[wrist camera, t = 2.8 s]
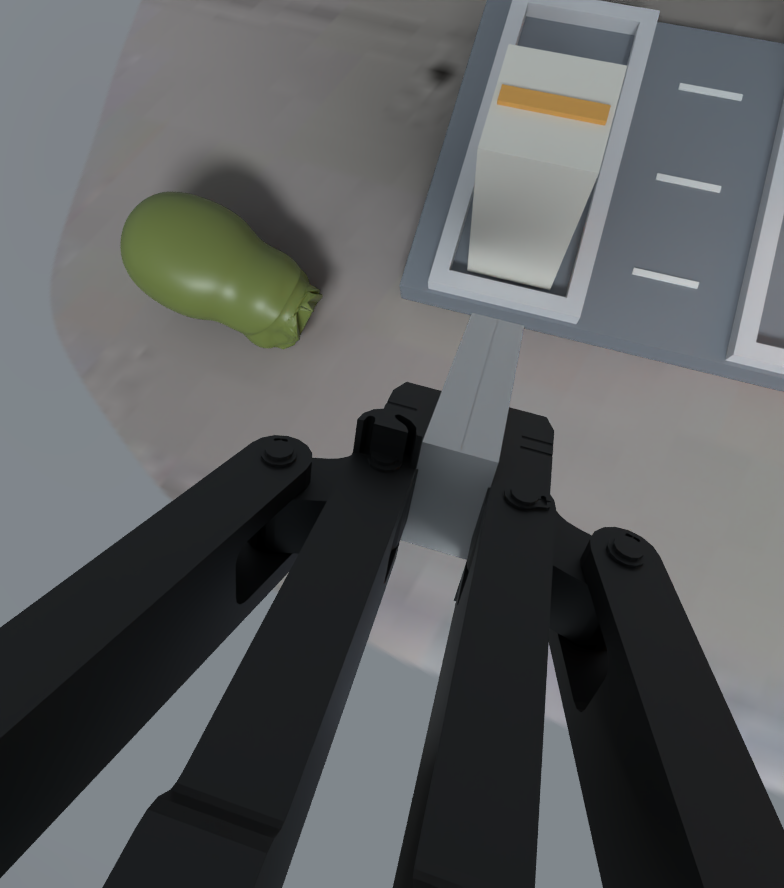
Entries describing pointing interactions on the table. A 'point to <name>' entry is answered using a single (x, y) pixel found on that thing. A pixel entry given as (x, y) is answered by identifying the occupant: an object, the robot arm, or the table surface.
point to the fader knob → (539, 161)
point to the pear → (216, 269)
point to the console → (636, 195)
